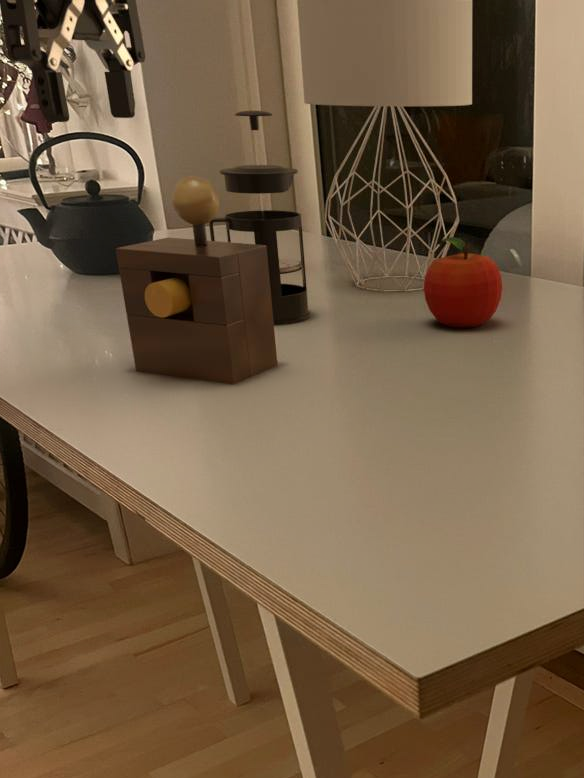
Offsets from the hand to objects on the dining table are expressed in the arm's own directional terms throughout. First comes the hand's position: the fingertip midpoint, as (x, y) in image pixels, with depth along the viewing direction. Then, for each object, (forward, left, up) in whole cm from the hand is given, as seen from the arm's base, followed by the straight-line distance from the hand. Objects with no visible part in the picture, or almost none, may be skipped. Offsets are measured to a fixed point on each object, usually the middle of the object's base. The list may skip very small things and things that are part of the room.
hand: (91, 119), depth 88 cm
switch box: (+7, +3, -23) cm, 24 cm away
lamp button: (+5, -1, -17) cm, 17 cm away
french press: (+12, +27, -23) cm, 37 cm away
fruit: (+36, +21, -23) cm, 48 cm away
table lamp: (+29, +48, -23) cm, 60 cm away
